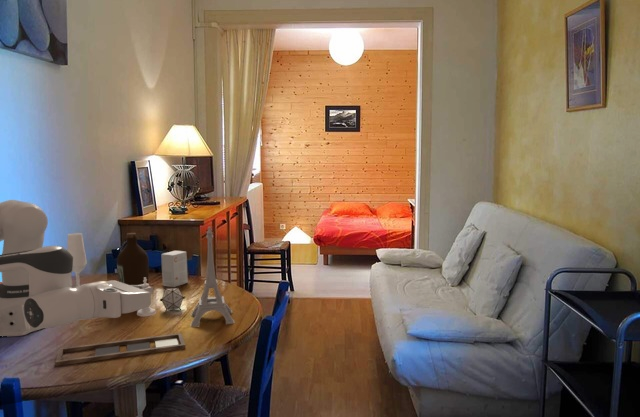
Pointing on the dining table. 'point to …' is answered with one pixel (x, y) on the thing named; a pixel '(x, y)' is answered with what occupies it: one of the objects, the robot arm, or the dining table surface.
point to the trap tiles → (116, 348)
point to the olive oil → (132, 263)
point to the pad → (166, 342)
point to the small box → (174, 268)
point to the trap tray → (119, 354)
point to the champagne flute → (77, 253)
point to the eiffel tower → (205, 301)
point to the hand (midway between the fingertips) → (148, 288)
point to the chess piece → (148, 310)
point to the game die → (172, 298)
